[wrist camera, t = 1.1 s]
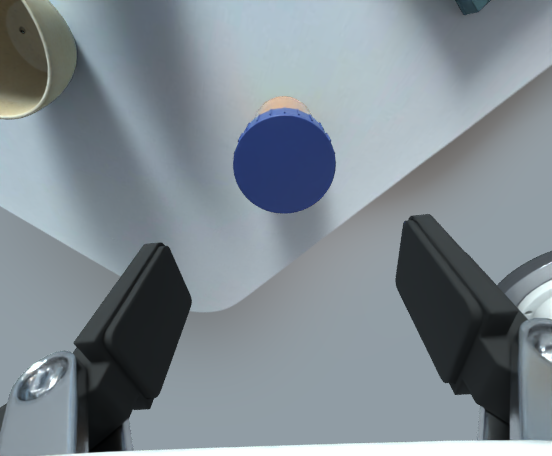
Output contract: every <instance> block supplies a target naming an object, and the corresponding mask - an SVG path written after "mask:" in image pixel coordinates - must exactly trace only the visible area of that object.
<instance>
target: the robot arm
mask: <svg viewBox="0 0 552 456" xmlns="http://www.w3.org/2000/svg"><path fill="white" fill-rule="evenodd" d="M396 286H397V289H398V291H399V294H400V296H401V298H402V300H403V302H404V304H405V306H406V308H407V310H408V312H409V314H410V316H411V318H412V320H413V322H414V324H415V326H416V328H417V331H418V332H419V335H420V337H421V339H422V341H423V343H424V345H425V347H426V349H427V351H428V353H429V355H430V357H431V359H432V361H433V363H434V365H435V367H436V370H437V372H438V374H439V376H440V377H441V379H442V380H443V382H445V383H449V384H450V386H451V388H452V390H453V392H454V394H455V395H461V394H471V395H472V397H473V399H474V400H475V402H476V403H477V404H478V405H480V412H479V424H478V425H479V426H478V437H477V441H426V442H425V441H424V442H388V443H351V444H319V445H318V444H317V445H286V446H257V447H256V446H255V447H226V448H196V449H169V450H143V451H133V445H132V437H131V430H130V423H129V417H130V414H131V412H132V410H133V409H134V410H141V409H150V408H151V405H152V402H153V400H154V398H156V397H157V396H158V395H159V394H160V391H161V389H162V386H163V383H164V380H165V377H166V375H167V372H168V369H169V366H170V364H171V361H172V358H173V355H174V352H175V350H176V347H177V344H178V341H179V338H180V336H181V333H182V330H183V327H184V324H185V322H186V318H187V316H188V313H189V310H190V308H191V303H192V299H191V296H190V293H189V291H188V289H187V286H186V284H185V282H184V280H183V277H182V275H181V273H180V271H179V268H178V266H177V264H176V262H175V259H174V257H173V255H172V253H171V250H170V248H169V247H168V246H165V245H164V244H163V243H161V242H159V243H150V244H145V245H143V247H142V248H141V249H140V251H139V252H138V254H137V255H136V256H135V258H134V259H133V261H132V262H131V263H130V265H129V266H128V267H127V269H126V270H125V272H124V273H123V274H122V276H121V277H120V279H119V280H118V282H117V283H116V284H115V286H114V287H113V288H112V290H111V291H110V293H109V294H108V295H107V297H106V298H105V300H104V301H103V302H102V304H101V305H100V307H99V308H98V309H97V311H96V312H95V313H94V315H93V316H92V318H91V319H90V321H89V322H88V323H87V325H86V326H85V327H84V329H83V330H82V332H81V333H80V335H79V336H78V337H77V339H76V340H75V341H74V344H75V345H76V347H77V348H76V349H75V351H74V352H73V353H71V352H68V351H60V352H55V353H53V354H50V355H47V356H46V357H44V358H42V359H40V360H39V361H37V362H36V363H34V364H33V365H32V366H31V367H29V368H28V369H27V370H26V371H25V372H24V373H23V374H22V375H21V376H20V377H19V378H18V380H17V381H16V383H15V384H14V385H13V387H12V390H11V392H10V394H9V398H8V402H7V404H5V405H4V406H2V407H1V408H0V456H552V280H550V281H548V282H546V283H544V284H542V285H541V286H539V287H538V288H536V289H535V290H533V291H532V292H531V293H529V294H528V295H527V296H526V297H525V298H524V299H523V300H522V301H521V303H520V304H519V306H518V307H516V306H515V305H514V304H513V302H512V301H511V300H510V299H509V298H508V297H507V296H506V295H505V294H504V293H503V292H502V290H501V289H500V288H499V287H498V286H497V285H496V284H495V283H494V282H493V281H492V280H491V279H490V277H489V276H488V275H487V274H486V273H485V272H484V271H483V270H482V269H481V268H480V267H479V266H478V265H477V264H476V262H475V261H474V260H473V259H472V258H471V257H470V256H469V255H468V254H467V253H466V252H464V251H463V250H462V248H461V247H460V246H459V245H458V244H457V243H456V242H455V241H454V240H453V239H452V237H450V235H449V234H448V233H447V232H446V231H445V230H444V229H443V228H442V227H441V225H440V224H439V223H438V222H437V221H436V220H435V219H434V218H433V217H432V216H431V215H430V214H425V215H415V216H411V217H410V218H409V220H408V221H404V223H403V229H402V237H401V243H400V251H399V258H398V265H397V272H396Z"/></svg>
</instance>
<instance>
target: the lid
mask: <svg viewBox="0 0 552 456" xmlns="http://www.w3.org/2000/svg"><path fill="white" fill-rule="evenodd" d="M238 142H239V143H238V145H237V148H236V150H235V152H234V161H233V170H234V176H235V179H236V182H237V184H238V186H239V188H240V190H241V191H242V193H243V194H244V195H245V196H246V198H247V199H248V200H250V201H251V202H252V203H253V204H255V205H256V206H258V207H260V208H262V209H264V210H266V211H270V212H274V213H294V212H298V211H302V210H304V209H306V208H308V207H310V206H312V205H313V204H315V203H316V202H318V201H319V200H320V199H321V198H322V197H323V196H324V194H325V193H326V192H327V190H328V189H329V187H330V185H331V183H332V181H333V178H334V174H335V167H336V161H335V152H334V150H333V147H332V144H331V139H330V138H329V136H328V134H327V133H325V131H324V129H323V127H322V125H321V123H320V122H319V123H318V122H317V121H316V120H315V119H314V118H313V117H312V116H311V114H309V115H308V114H307V113H305V112H302V111H300V110H299V109H292V108H285V107H284V108H277V109H273V110H272V109H270V111H267V112H265V113H263V114H261V115H260V114H259V115H258V117H256V118H255V119H254V120H253V121H252V122H251V123H248V125H247V127H246V129H245V131H244V133H242V134H241V136H240V138H239V140H238Z"/></svg>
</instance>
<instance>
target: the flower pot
mask: <svg viewBox="0 0 552 456" xmlns="http://www.w3.org/2000/svg"><path fill="white" fill-rule="evenodd" d="M22 30H23V31H24V32H25V33H22V32H21V31H22ZM76 61H77V50H76V44H75V41H74V38H73V35H72V33H71V31H70V29H69V27H68V25H67V23H66V22H65V20H64V19H63V18H62V16H61V15H60V13H59V12H58V11H57V10H56V8H55V7H54V6H53V5H52V4H51V3H50V2H49V1H48V0H0V119H19V118H23V117H26V116H29V115H31V114H33V113H35V112H37V111H39V110H41V109H42V108H44V107H45V106H47V105H48V104H50V103H51V102H52V101H54V100H55V99H56V98H57V97H58V96H59V95H60V94H61V93H62V92H63V91H64V90H65V88H66V87H67V85H68V84H69V82H70V80H71V78H72V76H73V73H74V71H75V67H76Z"/></svg>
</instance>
